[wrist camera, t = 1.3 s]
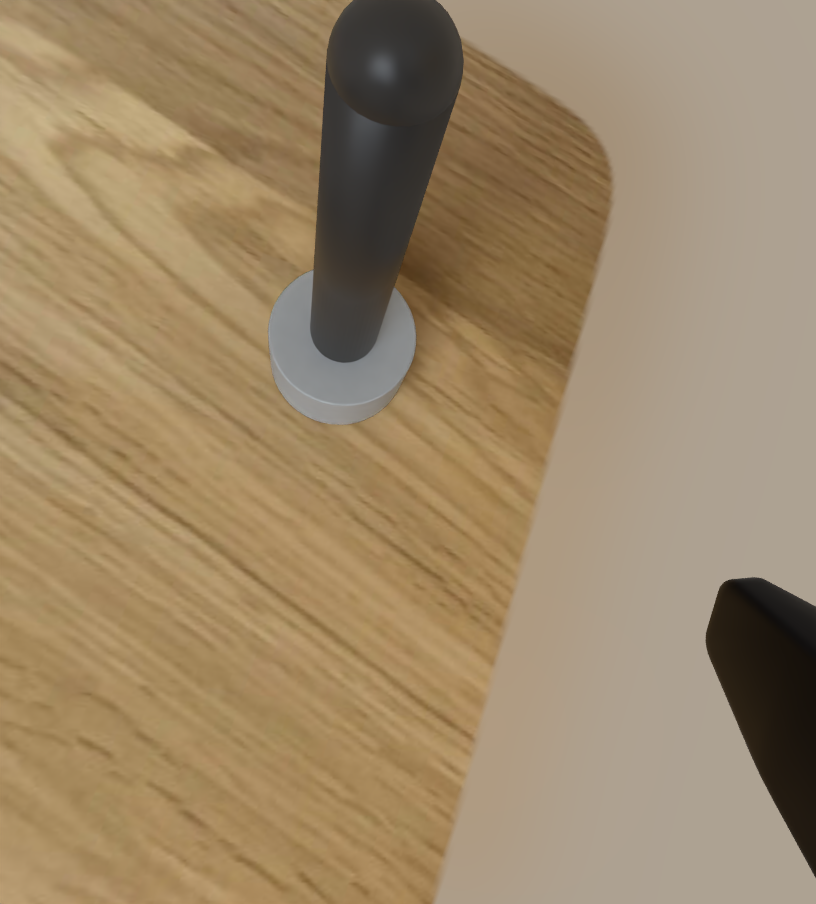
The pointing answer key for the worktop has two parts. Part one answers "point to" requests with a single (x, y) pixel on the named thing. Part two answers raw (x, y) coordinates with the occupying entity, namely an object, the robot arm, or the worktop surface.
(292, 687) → the worktop surface
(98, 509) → the worktop surface
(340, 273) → the joystick
